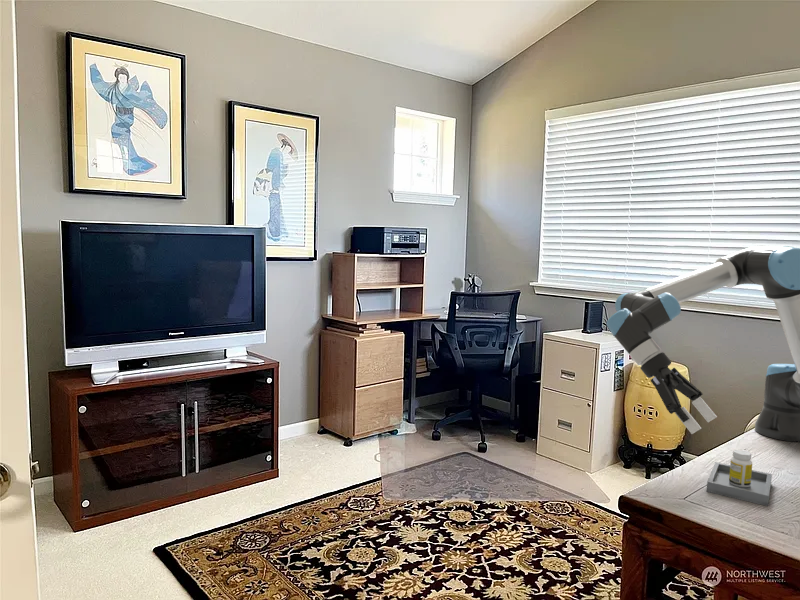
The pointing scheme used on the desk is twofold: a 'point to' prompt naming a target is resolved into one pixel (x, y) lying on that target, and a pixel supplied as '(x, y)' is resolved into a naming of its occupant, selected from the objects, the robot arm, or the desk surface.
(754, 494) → the tray
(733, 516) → the desk surface
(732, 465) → the supplement bottle
